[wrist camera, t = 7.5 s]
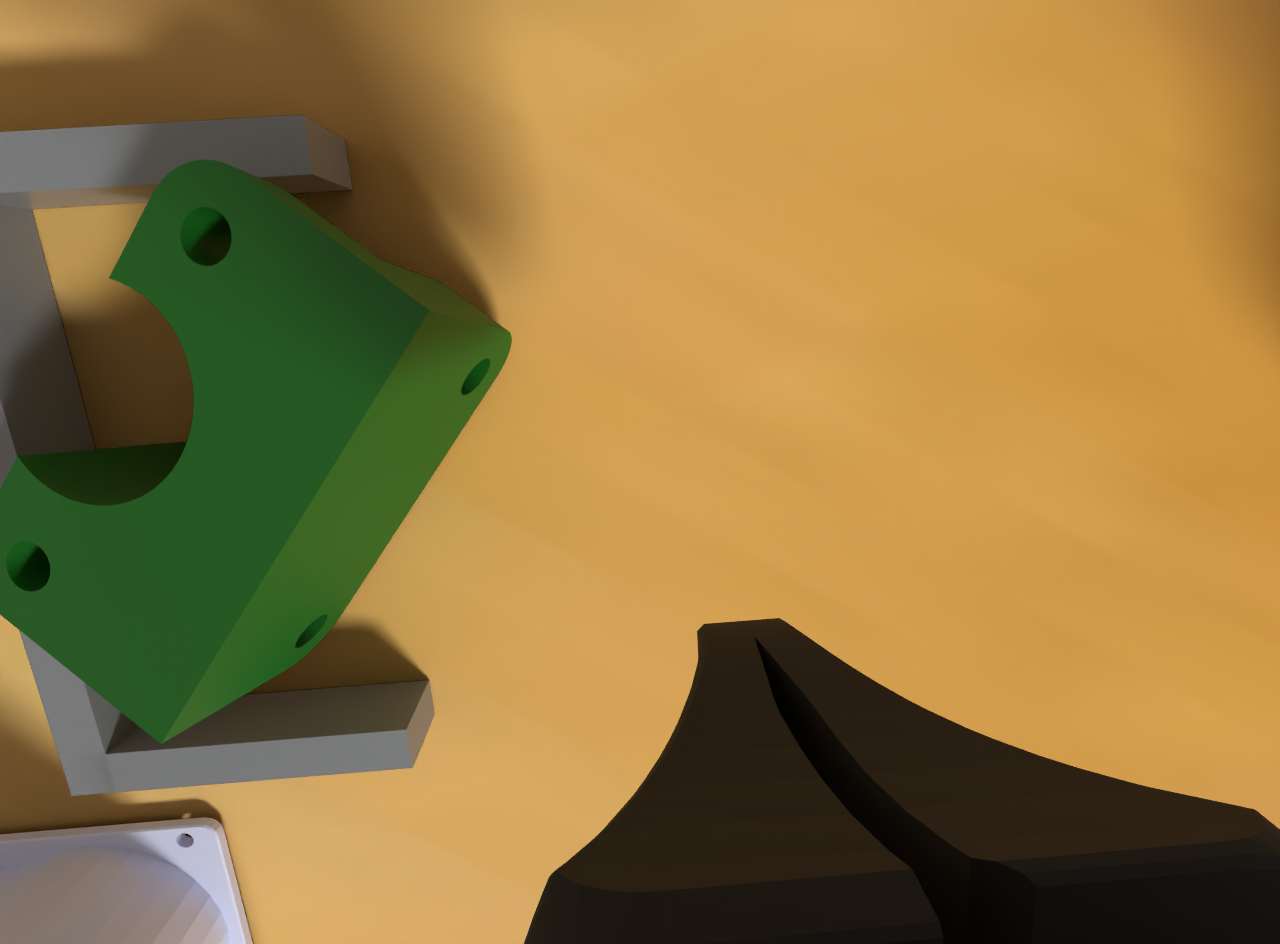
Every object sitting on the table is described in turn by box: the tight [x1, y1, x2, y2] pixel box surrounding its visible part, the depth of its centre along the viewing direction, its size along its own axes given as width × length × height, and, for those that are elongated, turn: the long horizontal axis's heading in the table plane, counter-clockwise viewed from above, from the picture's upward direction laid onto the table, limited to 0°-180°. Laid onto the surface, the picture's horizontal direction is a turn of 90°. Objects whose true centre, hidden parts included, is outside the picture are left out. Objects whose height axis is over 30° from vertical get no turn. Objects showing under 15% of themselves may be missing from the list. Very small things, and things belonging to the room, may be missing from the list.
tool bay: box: [0, 115, 435, 796], centre depth 18 cm, size 9×16×2 cm, turn 4°
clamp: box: [0, 160, 512, 744], centre depth 17 cm, size 12×6×9 cm, turn 139°
